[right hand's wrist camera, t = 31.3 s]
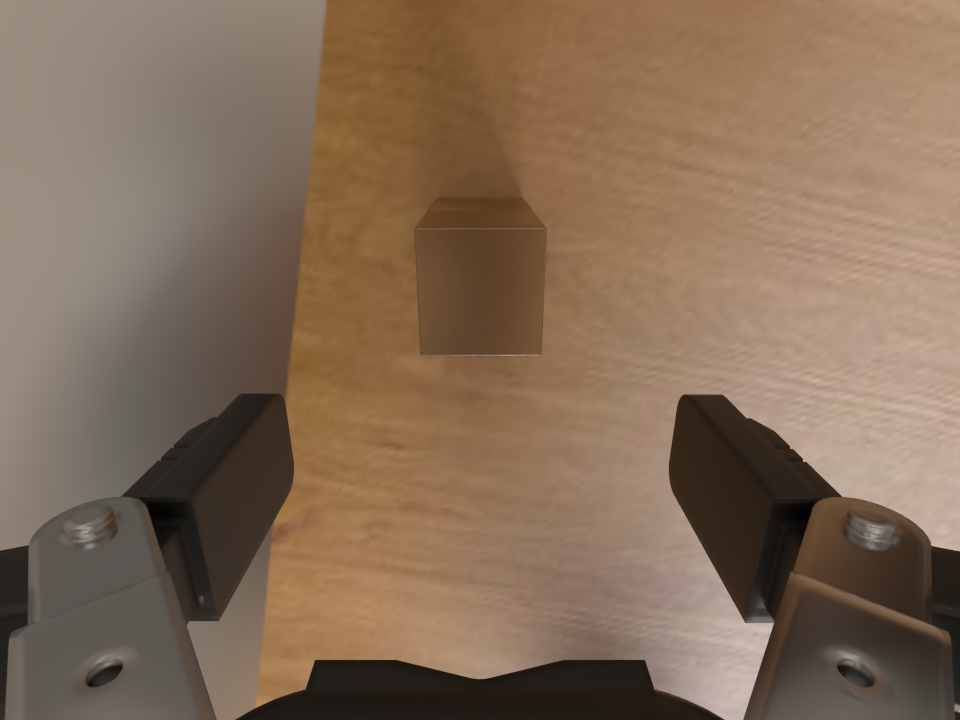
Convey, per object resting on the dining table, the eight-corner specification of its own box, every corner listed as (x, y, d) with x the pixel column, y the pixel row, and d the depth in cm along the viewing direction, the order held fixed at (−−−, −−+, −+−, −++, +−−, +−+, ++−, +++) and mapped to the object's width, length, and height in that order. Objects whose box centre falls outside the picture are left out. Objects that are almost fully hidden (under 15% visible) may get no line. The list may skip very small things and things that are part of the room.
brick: (523, 198, 31) (547, 227, 20) (521, 287, 33) (541, 356, 22) (436, 198, 31) (414, 227, 20) (439, 287, 33) (420, 356, 22)
